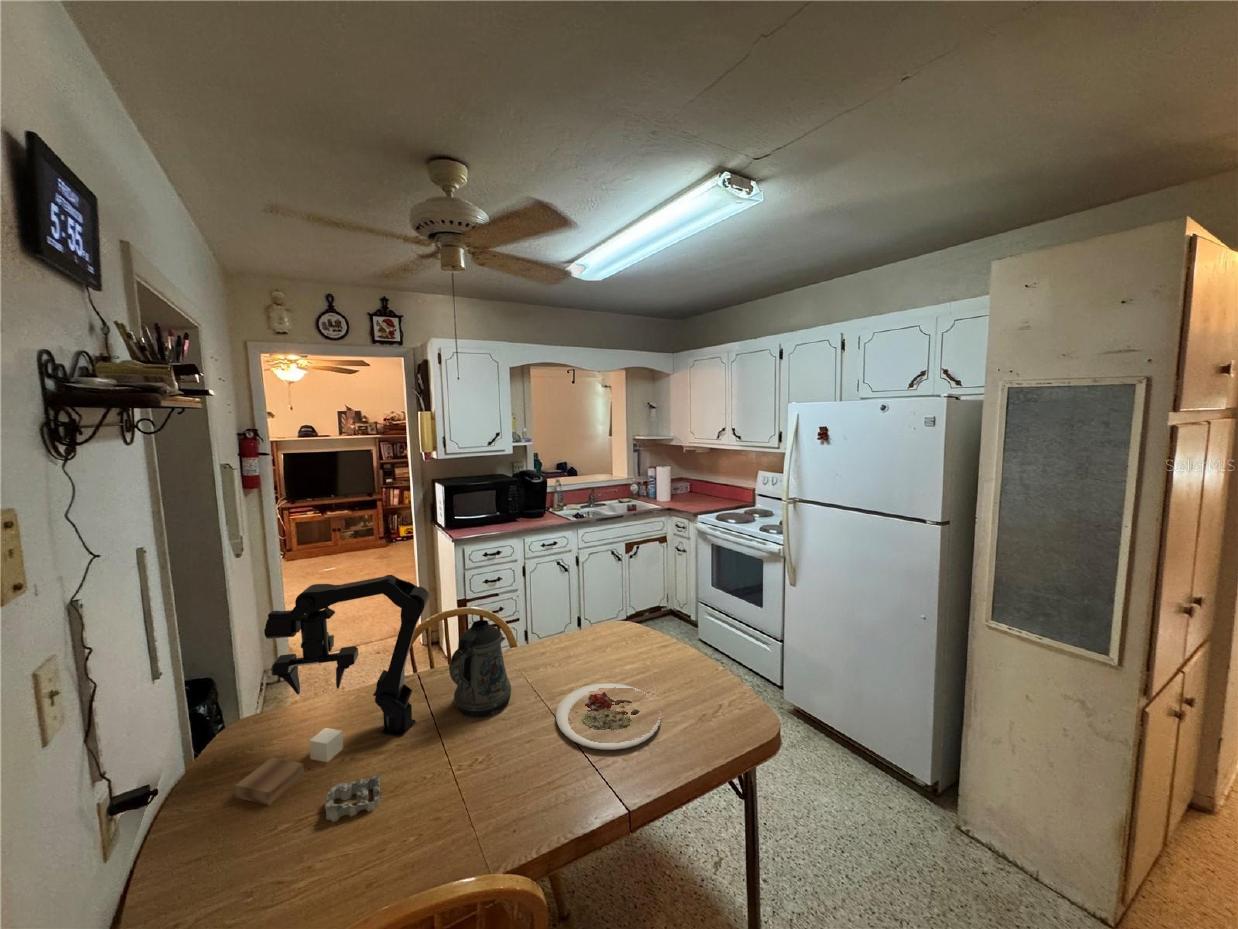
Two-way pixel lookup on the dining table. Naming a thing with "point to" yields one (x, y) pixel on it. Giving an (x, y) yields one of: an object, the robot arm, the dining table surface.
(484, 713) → the beer stein
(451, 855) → the dining table surface
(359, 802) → the egg carton
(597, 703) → the plated food
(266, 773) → the walnut base
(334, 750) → the cream block
